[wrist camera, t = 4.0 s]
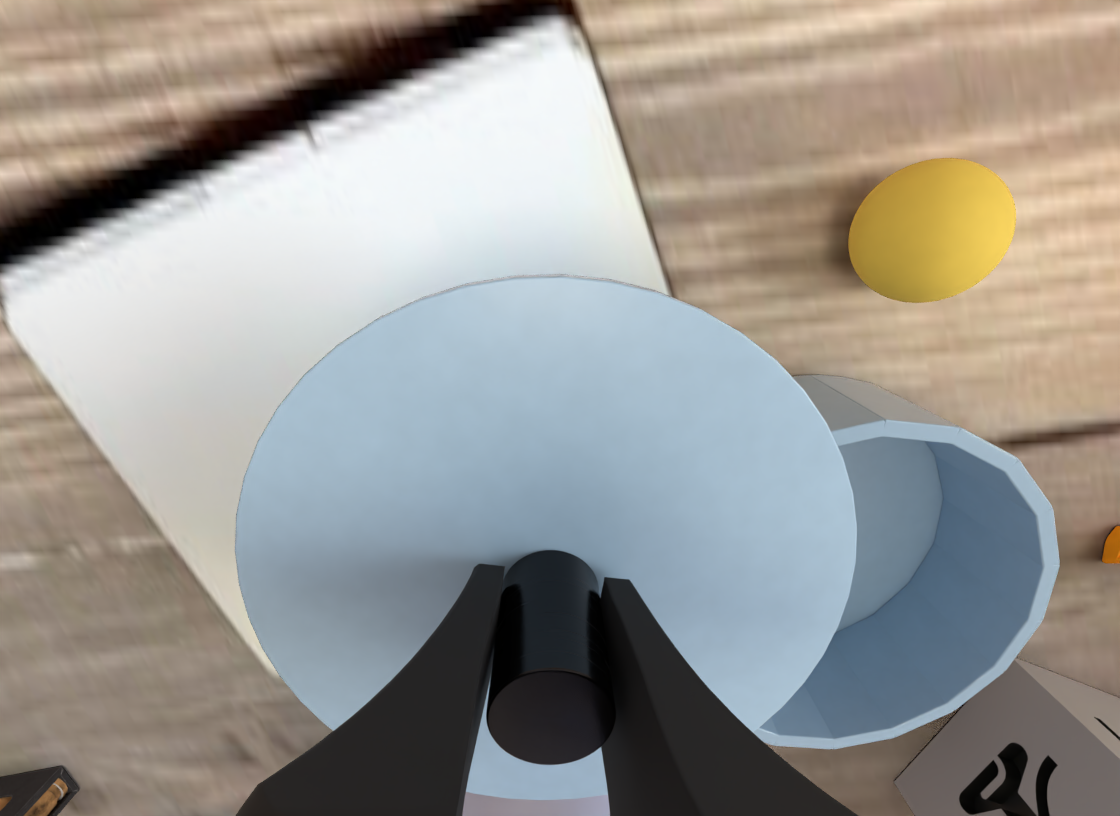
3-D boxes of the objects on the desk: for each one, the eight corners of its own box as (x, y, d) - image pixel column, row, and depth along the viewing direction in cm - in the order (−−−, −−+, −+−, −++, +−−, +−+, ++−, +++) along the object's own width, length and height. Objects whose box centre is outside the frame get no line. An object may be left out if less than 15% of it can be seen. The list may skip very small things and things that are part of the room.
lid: (539, 831, 18) (537, 1035, 13) (138, 555, 14) (-57, 714, 9) (940, 570, 14) (1114, 725, 10) (568, 108, 10) (583, 27, 6)
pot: (757, 691, 27) (806, 800, 22) (569, 519, 24) (575, 602, 19) (1003, 527, 24) (1126, 609, 19) (832, 300, 21) (927, 327, 16)
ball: (865, 317, 21) (948, 342, 17) (800, 229, 20) (871, 231, 15) (968, 234, 20) (1084, 238, 16) (906, 136, 19) (1013, 111, 14)
